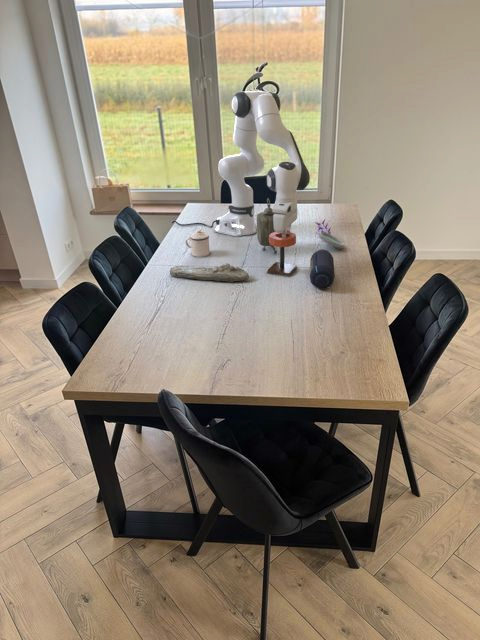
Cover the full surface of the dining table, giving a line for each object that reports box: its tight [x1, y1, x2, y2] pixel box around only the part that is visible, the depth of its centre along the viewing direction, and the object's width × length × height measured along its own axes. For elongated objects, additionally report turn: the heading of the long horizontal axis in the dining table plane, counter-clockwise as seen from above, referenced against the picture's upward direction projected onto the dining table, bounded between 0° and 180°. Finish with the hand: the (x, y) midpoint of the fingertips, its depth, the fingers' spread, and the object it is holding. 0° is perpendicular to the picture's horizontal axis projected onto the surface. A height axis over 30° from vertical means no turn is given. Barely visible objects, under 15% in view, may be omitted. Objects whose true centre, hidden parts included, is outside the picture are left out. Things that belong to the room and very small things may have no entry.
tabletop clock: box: [256, 197, 278, 255], centre depth 230 cm, size 14×9×25 cm, turn 9°
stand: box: [267, 247, 297, 277], centre depth 212 cm, size 10×10×14 cm
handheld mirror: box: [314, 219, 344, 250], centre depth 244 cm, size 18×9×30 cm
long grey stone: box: [169, 262, 250, 283], centre depth 209 cm, size 35×5×10 cm
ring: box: [269, 231, 297, 248], centre depth 208 cm, size 11×11×3 cm
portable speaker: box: [309, 248, 336, 290], centre depth 204 cm, size 25×10×10 cm, turn 175°
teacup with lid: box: [184, 229, 211, 258], centre depth 231 cm, size 12×9×12 cm
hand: (285, 235), depth 211 cm, fingers closed on ring, 2 cm apart
